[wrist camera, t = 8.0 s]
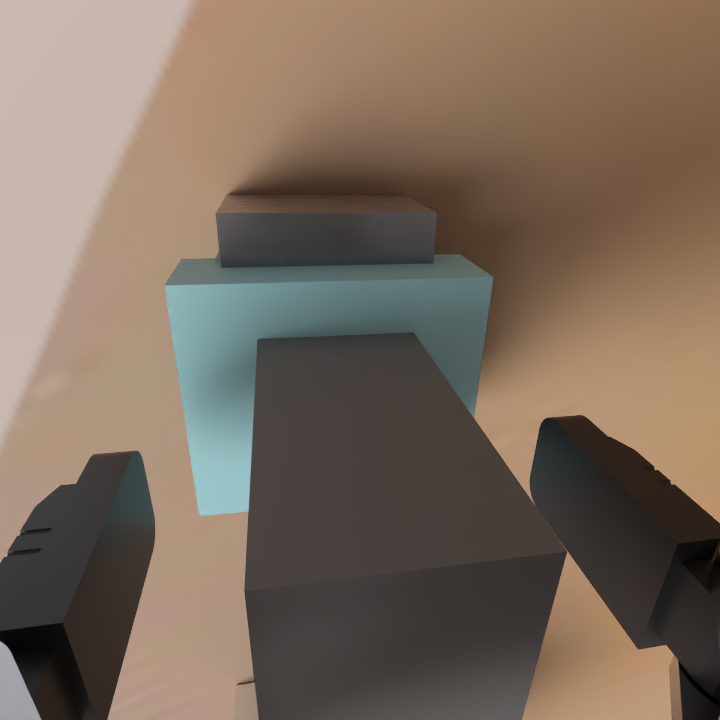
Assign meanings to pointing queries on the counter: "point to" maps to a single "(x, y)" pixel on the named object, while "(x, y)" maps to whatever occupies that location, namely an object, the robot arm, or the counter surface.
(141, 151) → the counter surface
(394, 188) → the counter surface
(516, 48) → the counter surface
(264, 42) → the counter surface
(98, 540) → the robot arm
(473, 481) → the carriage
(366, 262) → the rail
